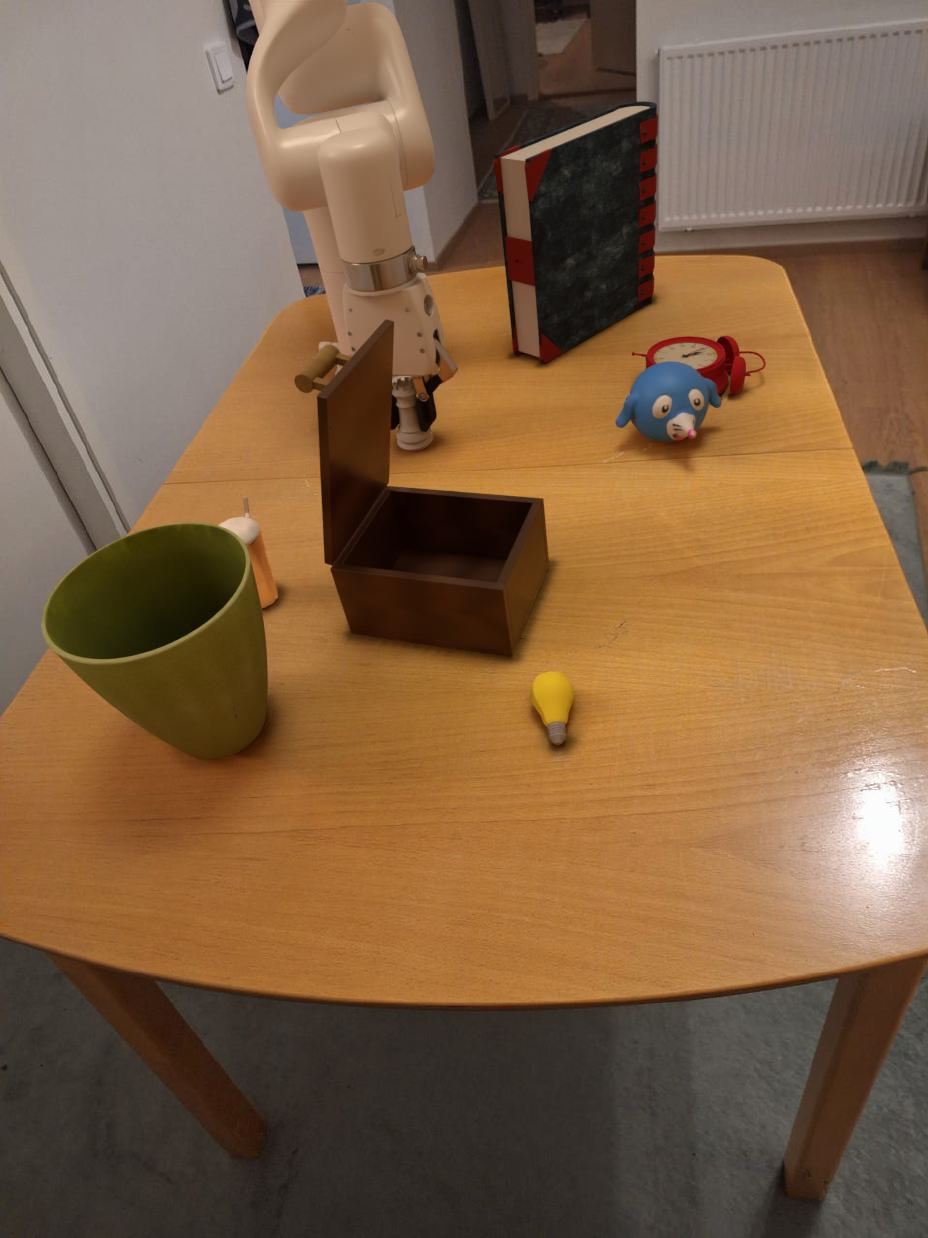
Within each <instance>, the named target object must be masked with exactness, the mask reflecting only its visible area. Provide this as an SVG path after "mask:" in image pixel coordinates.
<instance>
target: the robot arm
mask: <svg viewBox="0 0 928 1238" xmlns="http://www.w3.org/2000/svg"><path fill="white" fill-rule="evenodd" d="M248 2H249V5H250V9H251V12H252V16H253V19H254V22H255V26H256V29H257V32H258V38H257V40H256V42H255V44H254V47H253V50H252V54H251V56H250V59H249V64H248V68H247V75H246V84H245V99H246V109H247V116H248V120H249V123H250V128H251V131H252V135H253V138H254V142H255V145H256V149H257V152H258V156H259V159H260V163H261V166H262V169H263V172H264V175H265V179H266V181H267V184H268V187H269V189H270V191H271V194H272V196H273V197H274V199H275V201H276V202H277V203H278V204H279V205H280V206H281V207H282V208H283V209H286V210H287V211H290V212H297V213H298V212H302V214H303V216H304V219H305V222H306V225H307V229H308V231H309V235H310V239H311V242H312V246H313V249H314V253H315V256H316V261H317V265H318V267H319V271H320V276H321V279H322V283H323V287H324V291H325V295H326V299H327V302H328V307H329V311H330V314H331V318H332V323H333V326H334V331H335V334H336V339H337V342H334V341H320V342H319V344H318V352H319V351H320V350H321V349H322V348H323V347H324V346H325V345H329V344H330V345H333V346H335V347H336V348H337V349H338V350H339V352H340V354H344V355H348V356H351V357H352V356H353V355H354V354H355V353H356V352H357V350H358V349H359V348H360V347H361V346H362V345H363V344H364V343H365V341H366V340H367V339H368V338H369V337H370V336H371V335H372V334H373V333H374V331H375V330H376V329H377V328H378V327H379V326H380V325H381V324H382V322H383V321H384V320H385V319H387V320H391V321H394V341H393V373H392V389H393V382H394V381H396V383H397V379H399V378H401V381H405V379H404V377H409V381H410V378H412V380H413V383H414V386H415V389H416V392H417V394H416V396H417V397H418V399H417V400H416V402H415V406H416V411H417V416H418V421H419V426H420V430H421V431H422V432H427V431H428V429H429V428H431V426H432V425H433V423H435V422H436V420H437V417H438V416H437V415H438V411H437V407H436V402H435V397H434V392H435V391H436V390H437V389H438V388H439V387H440V386H441V385H442V384H444V383H446V382H448V381H450V379H453V378H454V377H455V375H456V374H457V373H458V371H459V367H458V365H457V364H456V363H455V362H454V359H452V357H451V356H450V355H449V353H448V351H447V343H446V342H447V341H446V338H445V333H444V328H443V325H442V320H441V317H440V313H439V309H438V305H437V302H436V299H435V296H434V293H433V290H432V288H431V285H430V283H429V279H428V277H427V275H426V273H424V272H420V271H426V270H427V269H428V263H429V262H428V257H427V256H426V255H420V254H418V253H417V251H416V246H415V245H413V240H412V233H411V227H410V221H409V216H408V210H407V205H406V200H405V199H406V198H405V194H404V192H406V191H410V190H414V189H418V188H420V187H422V186H424V185H425V184H428V182H429V181H430V180H431V179H432V177H433V175H434V174H435V173H434V172H435V168H436V151H435V145H434V141H433V135H432V131H431V128H430V124H429V119H428V116H427V113H426V110H425V106H424V103H423V99H422V96H421V93H420V90H419V86H418V82H417V78H416V75H415V72H414V71H415V70H414V68H413V64H412V62H411V57H410V53H409V50H408V47H407V44H406V41H405V38H404V35H403V32H402V29H401V27H400V24H399V22H398V20H397V18H396V17H395V16H394V14H393V12H392V11H391V10H390V9H389V8H388V7H387V6H385V5H383V4H382V3H379V2H374V1H373V2H370V1H369V2H361V3H355V4H350V5H347V0H248ZM277 94H278V97H279V99H280V100H281V103H282V104H283V105H284V106H285V107H286V109H287V110H289V111H290V112H291V113H293V114H295V115H303V116H304V115H305V116H308V115H312V116H309V117H306V118H304V119H301V120H299V121H298V122H296V123H295V124H294V125H292V126H290V127H287V128H281V127H280V125H279V123H278V119H277V115H276V110H275V101H276V97H277ZM436 365H437V367H438V368H439V370H436ZM336 366H337V367H336V370H335V372H334V373H335V374H334V376H335V375H336V374H337V373H338V372H339V371H340V369H341V368H342V367H343V366H340V365H336ZM396 402H397V398H396V397H395V396H393V395H392V404H391V431H395V430H396V429H397V428H398V426H399V422H400V419H399V409H398V406H396Z"/></svg>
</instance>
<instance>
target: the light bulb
mask: <svg viewBox="0 0 928 1238" xmlns="http://www.w3.org/2000/svg"><path fill="white" fill-rule="evenodd" d="M575 691H576V690H575V687H574V685H573V684H572V682H571V680H570V679H569V678H568V677H567V676H566V674H563V673H562V672H560V671H555V670H550V671H544V672H542V673H540V674H539V675H537V676H536V677H535V678H534V680H533V681H532V683H531V685H530V689H529V699H530V702H531V704H532V705H533V707H534V709H535V710H536V711H537V713H538V714H539V715H540V717H541V721H542V723H543V724H544V726H545V727H546V728H547V729H546V730H547V736H548V740H549V741H550V742H552V743H553V744H554V745H555V746H560V745H562V744H563V742H564V741H565V740H566V739H567V737H568V736H567V729H566V724H567V723H568V721H569V713H570V710H571V708H572V706H573V703H574V700H575V694H576V693H575Z"/></svg>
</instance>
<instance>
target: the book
mask: <svg viewBox="0 0 928 1238" xmlns="http://www.w3.org/2000/svg"><path fill="white" fill-rule="evenodd" d="M658 135H659V114H658V104H657V103H655V102H653V101H645V100H644V101H643V100H642V101H641V100H640V101H630V102H623V103H619V104H616V105H614V106H612V107H610V108H608V109H605V110H603V111H600V112H598V113H595V114H593V115H590V116H588V117H585V118H583V119H579V120H578V121H575V122H573V123H571V124H568V125H565V126H562V127H561V128H558V129H555V130H553V131H550V132H548V133H546V134H543V135H541V136H538V137H535V138H533V139H531V140H528V141H526V142H524V143H520V144H519V145H517V144H516V145H515V146H512V147H509V148H507V149H505V150H502V151H501V152H498V153H496V154H494V155H493V168H494V169H493V170H494V175H495V184H496V190H497V198H498V199H497V200H498V207H499V208H498V209H499V210H498V211H499V218H500V229H501V240H502V250H503V259H504V269H505V279H506V290H507V299H508V310H509V312H508V313H509V320H510V321H509V322H510V330H511V331H510V332H511V343H512V352H513V355H514V356H517V355H519V354H523V353H525V354H528V355H531V356H533V357H537V358H539V360H540V364H541V365H545V364H546V363H549V362H551V361H552V360H555V359H556V358H557V357H559V356H561V355H563V354H564V353H565V352H567V351H569V350H571V349H572V348H574V347H576V346H577V345H579V344H581V343H583V342H585V341H587V340H588V339H589V338H592V337H593V336H595V335H597V334H598V333H600V332H602V331H603V330H605V329H607V328H608V327H611V326H612V325H614V324H616V323H617V322H619V321H621V320H622V319H624V318H626V317H628V316H629V315H631V314H633V313H635V312H636V311H638V310H640V309H641V308H643V307H645V306H648V305H650V304H652V302H653V296H654V293H655V274H654V271H655V263H656V252H655V249H654V248H655V245H656V226H655V222H656V218H657V200H656V198H655V197H656V193H657V185H658V184H657V181H658V179H657V178H658V176H657V175H658V174H657V172H656V167H657V165H658V144H657V137H658Z"/></svg>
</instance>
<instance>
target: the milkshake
mask: <svg viewBox="0 0 928 1238" xmlns="http://www.w3.org/2000/svg"><path fill="white" fill-rule="evenodd" d="M242 498H243V499H242V500H243V508H244V516H233V517H230V518H228V519H226V520H224V521H222V522H220V523H219V524H218V526H221V527H223V528H226V529H228V530H230V531H232V532H234V533H235V534H236V535H238V536H239V537H240V538H241V539H242V540H243V542H244V543H245V545H246V546H247V549H248V551H249V555H250V559H251V563H252V567H253V571H254V575H255V579H256V584H257V589H258V593H259V598H260V603H261V608H262V609H265V608H267V607H269V606H271V605H273V604H274V603H275V602H276V600H277V599H278V597H279V595H278V594H279V593H278V589H277V585H276V582H275V578H274V576H273V572H272V568H271V565H270V561H269V557H268V555H267V549H266V545H265V542H264V538H263V534H262V530H261V527H260V526H261V525H260V524H259V523H258V521H257V520H255V519H253V518H251V517H250V508H249V499H248V497H247V496H243V497H242Z"/></svg>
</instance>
